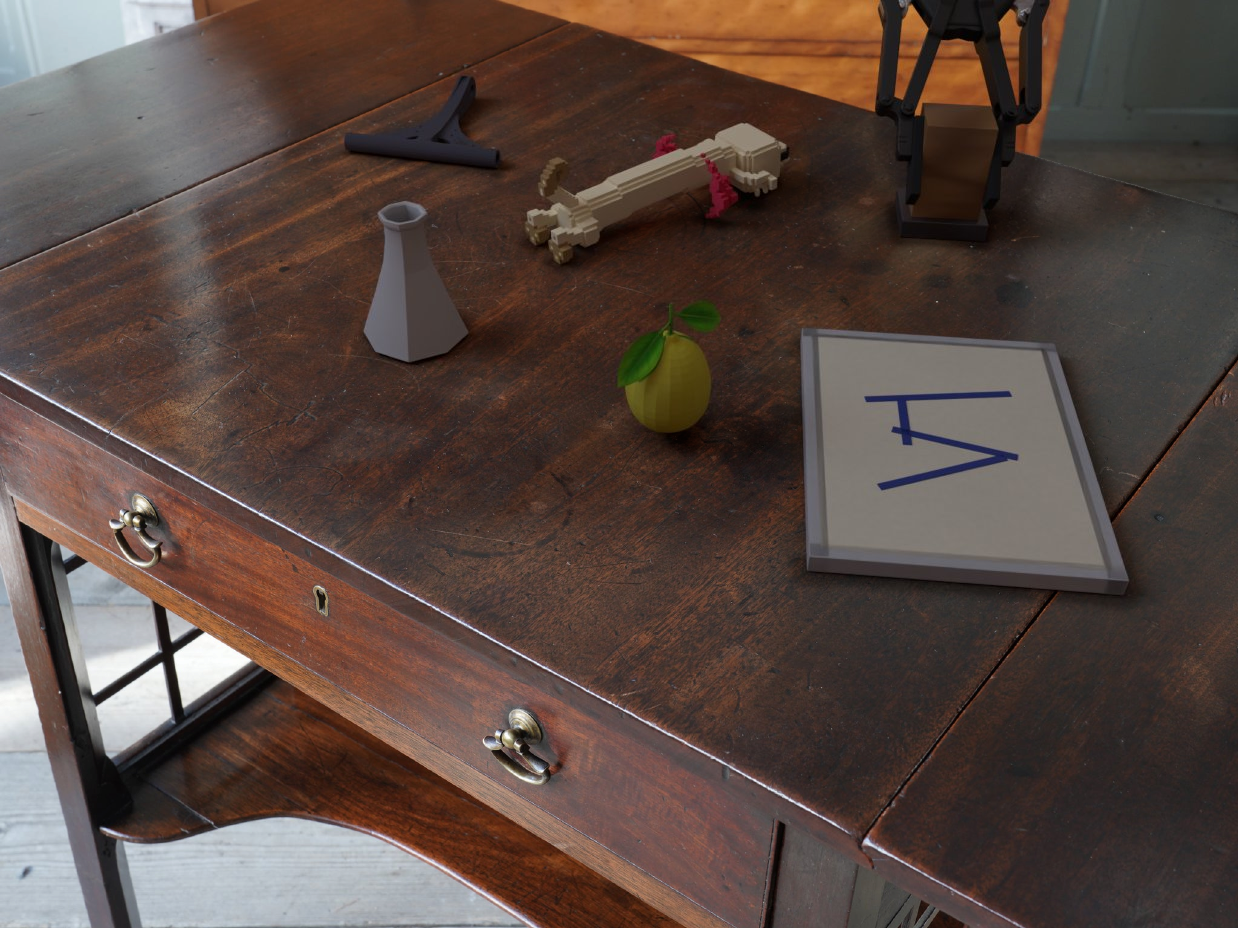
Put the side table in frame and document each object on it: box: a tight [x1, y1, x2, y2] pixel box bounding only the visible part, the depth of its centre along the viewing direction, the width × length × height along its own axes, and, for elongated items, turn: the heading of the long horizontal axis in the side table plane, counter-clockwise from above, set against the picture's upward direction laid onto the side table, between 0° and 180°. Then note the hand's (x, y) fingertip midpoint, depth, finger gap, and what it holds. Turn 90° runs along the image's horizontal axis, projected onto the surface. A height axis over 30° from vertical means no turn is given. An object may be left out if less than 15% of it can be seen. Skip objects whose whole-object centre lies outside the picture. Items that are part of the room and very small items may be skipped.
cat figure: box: [524, 122, 790, 265], centre depth 101 cm, size 10×9×25 cm
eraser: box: [894, 102, 999, 243], centre depth 100 cm, size 7×6×10 cm
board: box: [799, 327, 1130, 596], centre depth 79 cm, size 18×24×1 cm
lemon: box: [616, 299, 722, 434], centre depth 78 cm, size 7×6×10 cm
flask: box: [363, 200, 469, 363], centre depth 86 cm, size 7×7×10 cm
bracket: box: [343, 74, 501, 169], centre depth 116 cm, size 14×15×3 cm
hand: (951, 201), depth 98 cm, fingers closed on eraser, 5 cm apart
